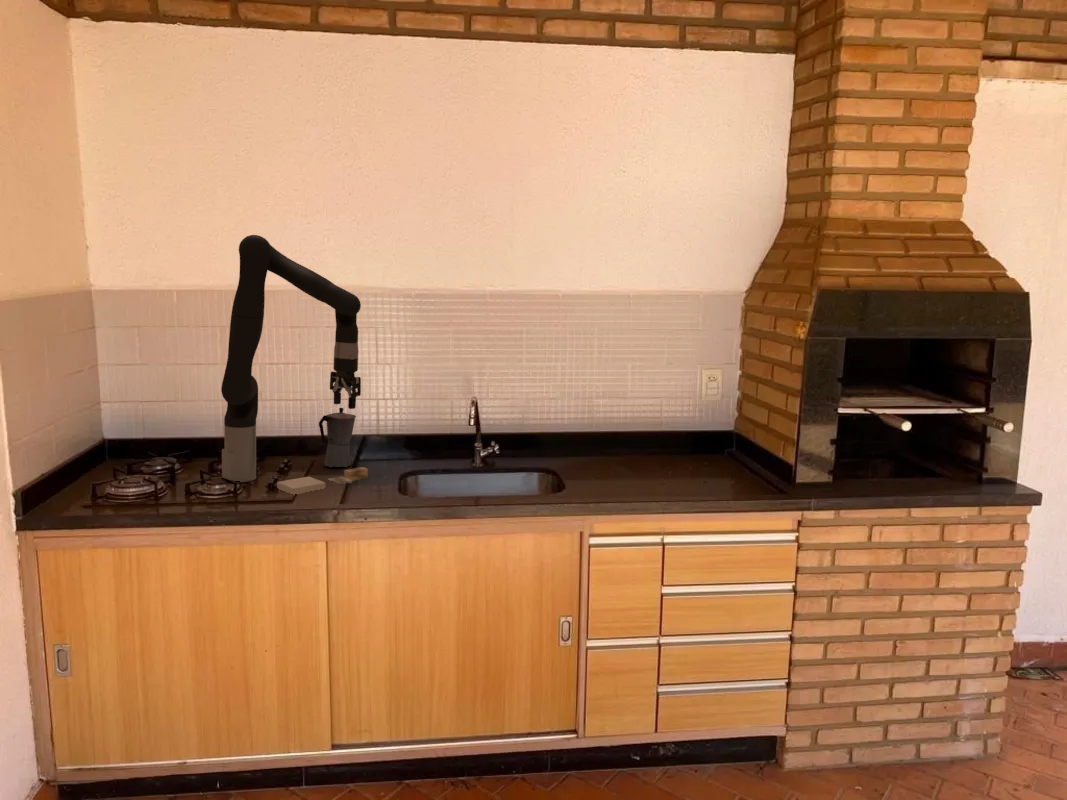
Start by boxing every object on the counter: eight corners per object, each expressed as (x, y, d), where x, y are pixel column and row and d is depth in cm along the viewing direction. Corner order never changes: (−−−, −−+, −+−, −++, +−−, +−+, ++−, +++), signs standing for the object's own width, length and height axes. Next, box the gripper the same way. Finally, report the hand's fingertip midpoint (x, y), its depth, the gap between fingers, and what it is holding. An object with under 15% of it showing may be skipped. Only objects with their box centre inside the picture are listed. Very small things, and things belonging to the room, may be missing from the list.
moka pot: (363, 464, 278) (364, 407, 275) (330, 472, 265) (331, 413, 262) (343, 459, 283) (344, 403, 280) (309, 467, 270) (310, 409, 267)
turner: (359, 475, 264) (359, 465, 264) (370, 479, 260) (370, 469, 260) (327, 481, 256) (328, 471, 255) (338, 485, 252) (338, 475, 251)
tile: (325, 490, 247) (292, 496, 239) (309, 484, 253) (277, 489, 245) (325, 482, 246) (292, 488, 238) (309, 476, 252) (277, 481, 244)
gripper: (323, 353, 259) (322, 403, 262) (348, 359, 249) (346, 411, 252) (344, 353, 264) (342, 401, 267) (368, 358, 255) (366, 409, 257)
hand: (344, 406), depth 259 cm, fingers open, 8 cm apart
